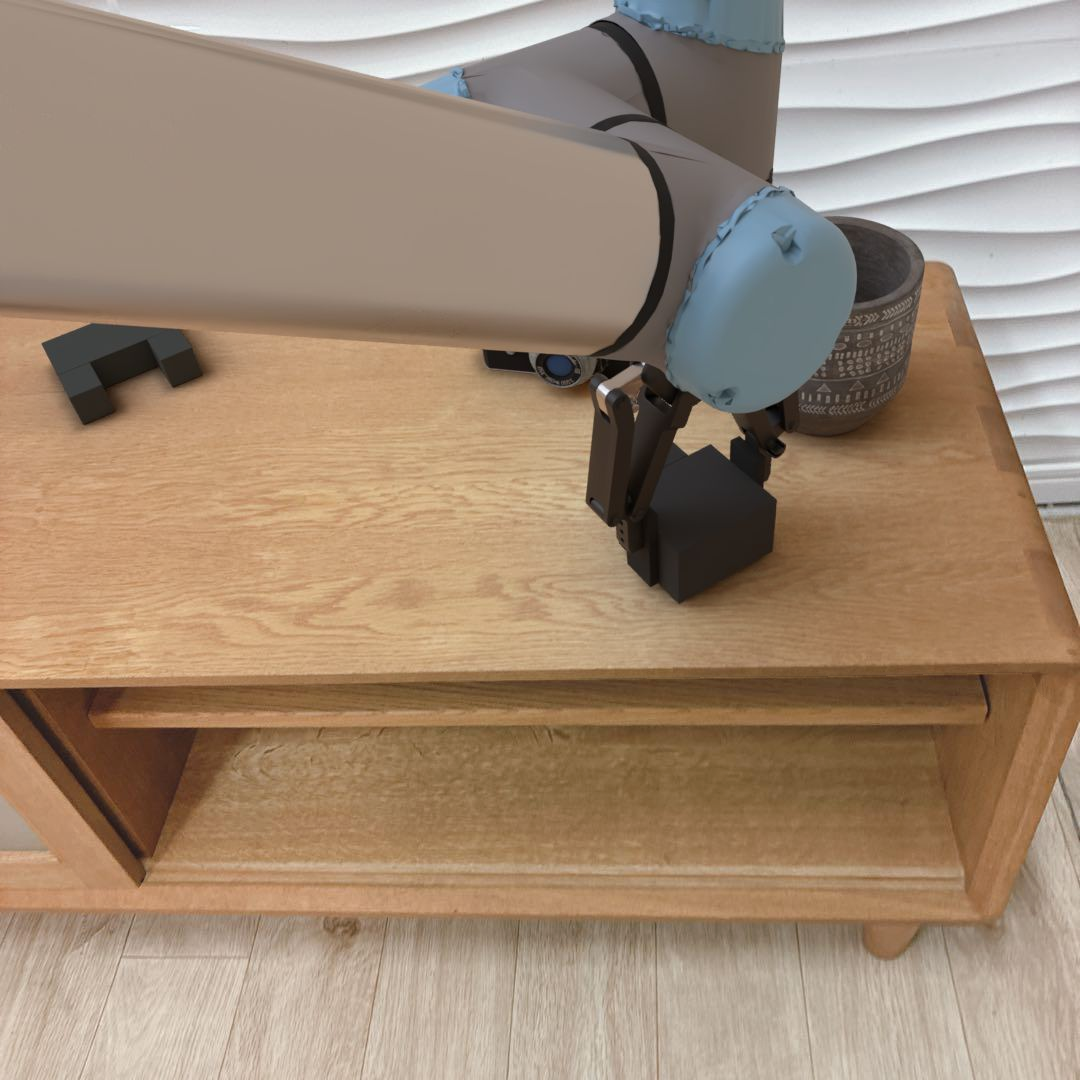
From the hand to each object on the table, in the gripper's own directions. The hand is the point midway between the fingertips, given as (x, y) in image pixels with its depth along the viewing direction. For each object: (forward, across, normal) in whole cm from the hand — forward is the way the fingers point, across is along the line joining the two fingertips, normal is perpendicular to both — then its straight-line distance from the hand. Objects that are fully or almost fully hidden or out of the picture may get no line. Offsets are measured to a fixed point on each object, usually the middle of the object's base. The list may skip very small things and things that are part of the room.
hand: (694, 544), depth 74 cm
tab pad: (0, 0, -2) cm, 2 cm away
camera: (+1, -4, -23) cm, 23 cm away
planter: (+1, -18, -7) cm, 19 cm away
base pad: (+1, +27, -48) cm, 55 cm away
